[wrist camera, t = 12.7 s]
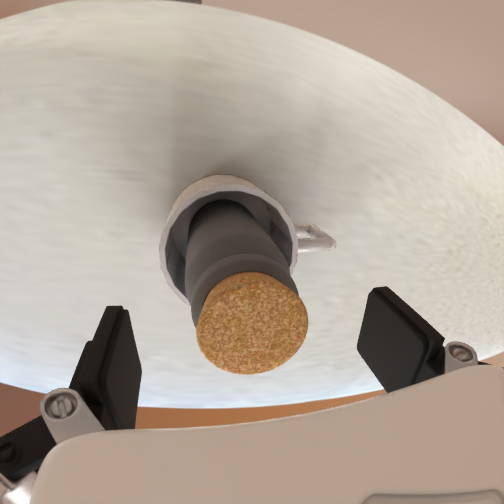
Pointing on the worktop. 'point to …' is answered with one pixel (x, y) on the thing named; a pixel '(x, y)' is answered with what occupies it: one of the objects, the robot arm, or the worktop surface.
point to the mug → (259, 206)
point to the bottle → (241, 291)
